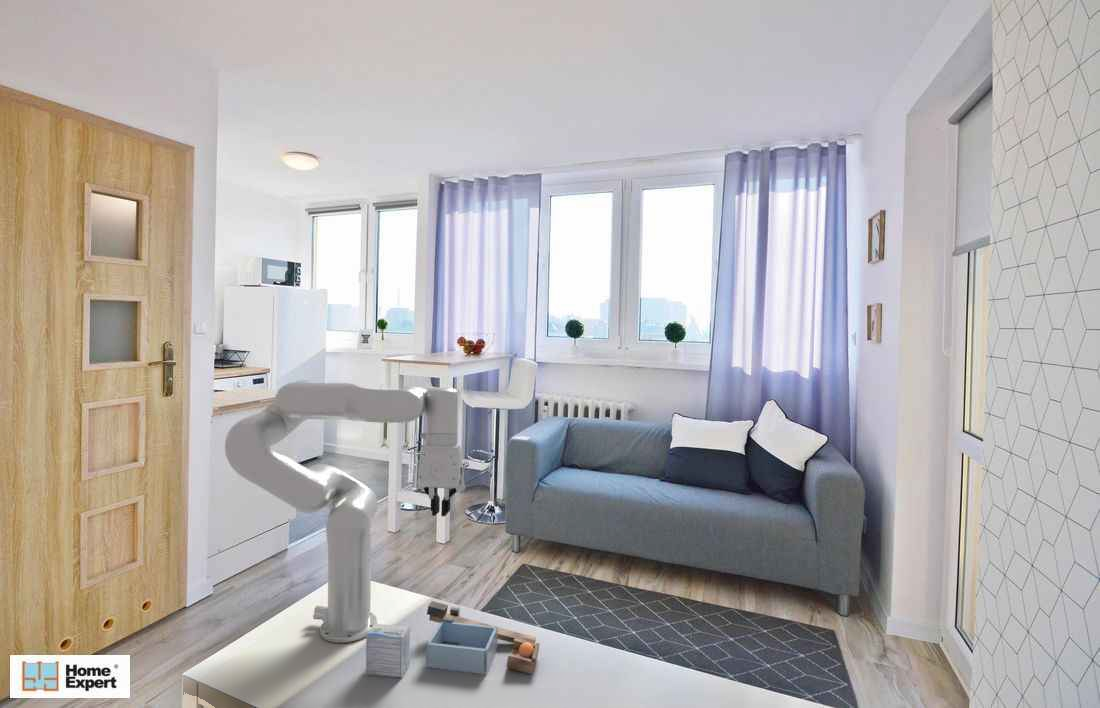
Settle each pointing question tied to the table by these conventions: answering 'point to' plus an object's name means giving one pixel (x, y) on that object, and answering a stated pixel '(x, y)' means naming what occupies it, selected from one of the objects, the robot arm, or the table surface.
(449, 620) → the fulcrum
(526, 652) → the ball
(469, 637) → the bin
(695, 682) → the table surface
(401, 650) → the medicine box
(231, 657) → the table surface
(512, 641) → the lever
